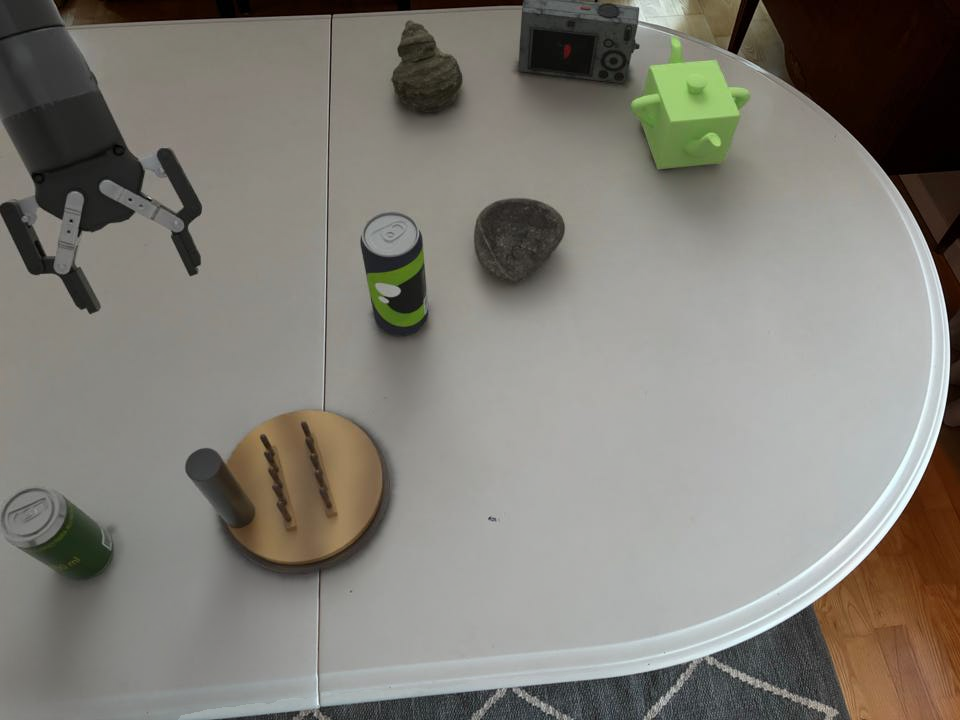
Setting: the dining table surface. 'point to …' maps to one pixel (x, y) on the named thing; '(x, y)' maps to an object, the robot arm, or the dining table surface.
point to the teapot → (688, 111)
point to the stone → (516, 237)
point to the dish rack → (294, 486)
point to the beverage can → (395, 272)
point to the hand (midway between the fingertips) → (146, 291)
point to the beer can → (55, 532)
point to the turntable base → (337, 557)
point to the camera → (578, 39)
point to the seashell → (424, 71)
